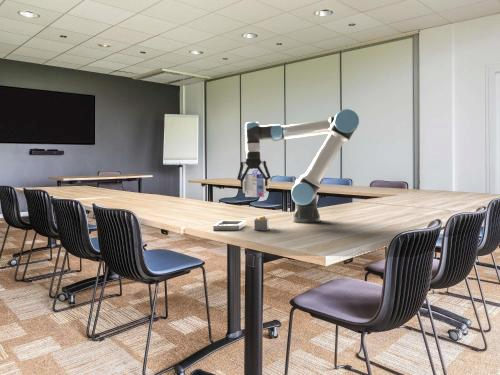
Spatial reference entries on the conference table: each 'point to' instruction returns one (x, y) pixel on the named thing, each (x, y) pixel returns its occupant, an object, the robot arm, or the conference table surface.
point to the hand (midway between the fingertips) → (254, 192)
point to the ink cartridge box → (254, 185)
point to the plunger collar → (261, 224)
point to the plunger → (261, 218)
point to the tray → (229, 225)
